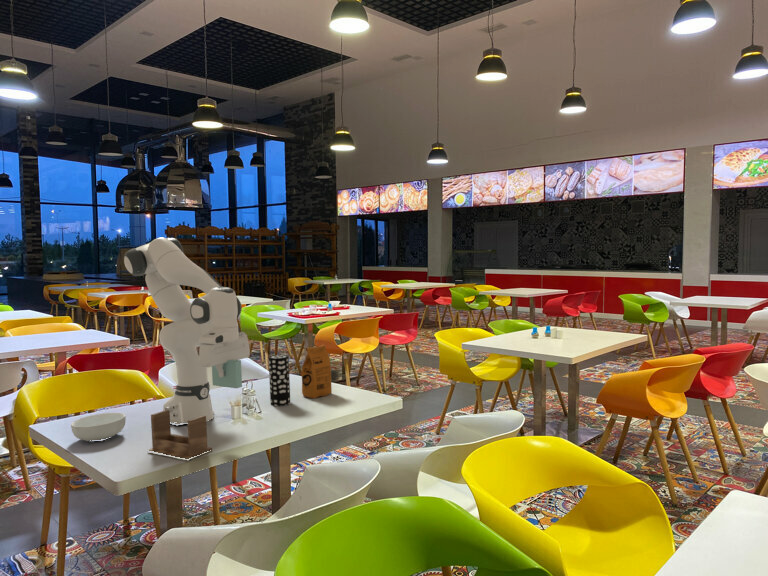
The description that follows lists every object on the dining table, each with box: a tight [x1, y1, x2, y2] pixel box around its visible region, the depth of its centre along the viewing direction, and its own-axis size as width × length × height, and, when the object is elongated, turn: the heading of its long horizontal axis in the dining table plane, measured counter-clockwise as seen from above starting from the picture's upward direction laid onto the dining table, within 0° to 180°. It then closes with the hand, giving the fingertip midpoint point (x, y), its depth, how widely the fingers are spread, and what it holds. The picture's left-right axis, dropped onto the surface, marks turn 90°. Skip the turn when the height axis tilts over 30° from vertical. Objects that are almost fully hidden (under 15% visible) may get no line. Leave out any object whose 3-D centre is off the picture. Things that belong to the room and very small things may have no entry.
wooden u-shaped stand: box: [148, 410, 213, 459], centre depth 176 cm, size 18×10×12 cm, turn 61°
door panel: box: [211, 359, 243, 389], centre depth 187 cm, size 11×2×9 cm, turn 61°
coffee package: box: [301, 344, 333, 399], centre depth 245 cm, size 10×12×22 cm
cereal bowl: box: [70, 412, 127, 442], centre depth 193 cm, size 17×17×7 cm
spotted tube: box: [268, 354, 291, 407], centre depth 233 cm, size 8×8×20 cm
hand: (226, 375), depth 187 cm, fingers closed on door panel, 2 cm apart
